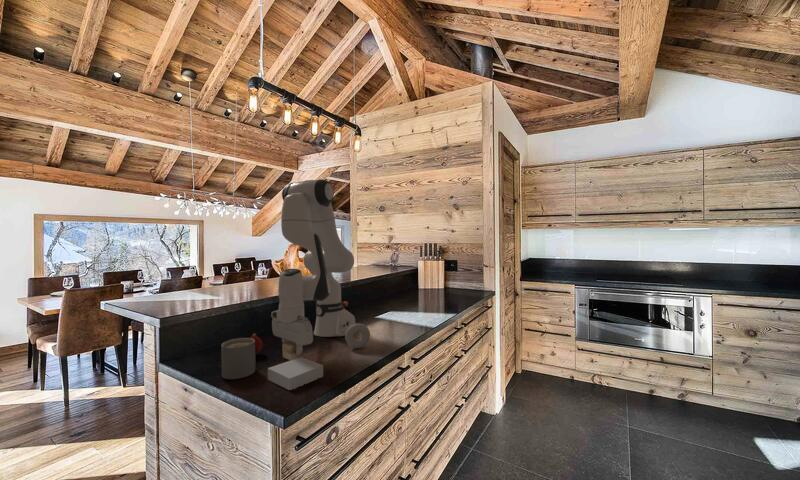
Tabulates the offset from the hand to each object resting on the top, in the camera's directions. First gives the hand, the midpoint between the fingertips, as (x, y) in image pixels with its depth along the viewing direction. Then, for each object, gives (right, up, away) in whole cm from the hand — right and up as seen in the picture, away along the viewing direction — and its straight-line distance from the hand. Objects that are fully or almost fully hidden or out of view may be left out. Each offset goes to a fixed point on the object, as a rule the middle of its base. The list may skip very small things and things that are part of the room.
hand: (292, 351), depth 118 cm
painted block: (+6, -3, -16) cm, 17 cm away
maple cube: (0, -2, 0) cm, 2 cm away
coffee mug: (-14, -3, -10) cm, 18 cm away
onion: (-16, -3, +4) cm, 17 cm away
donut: (+22, -3, +11) cm, 25 cm away
